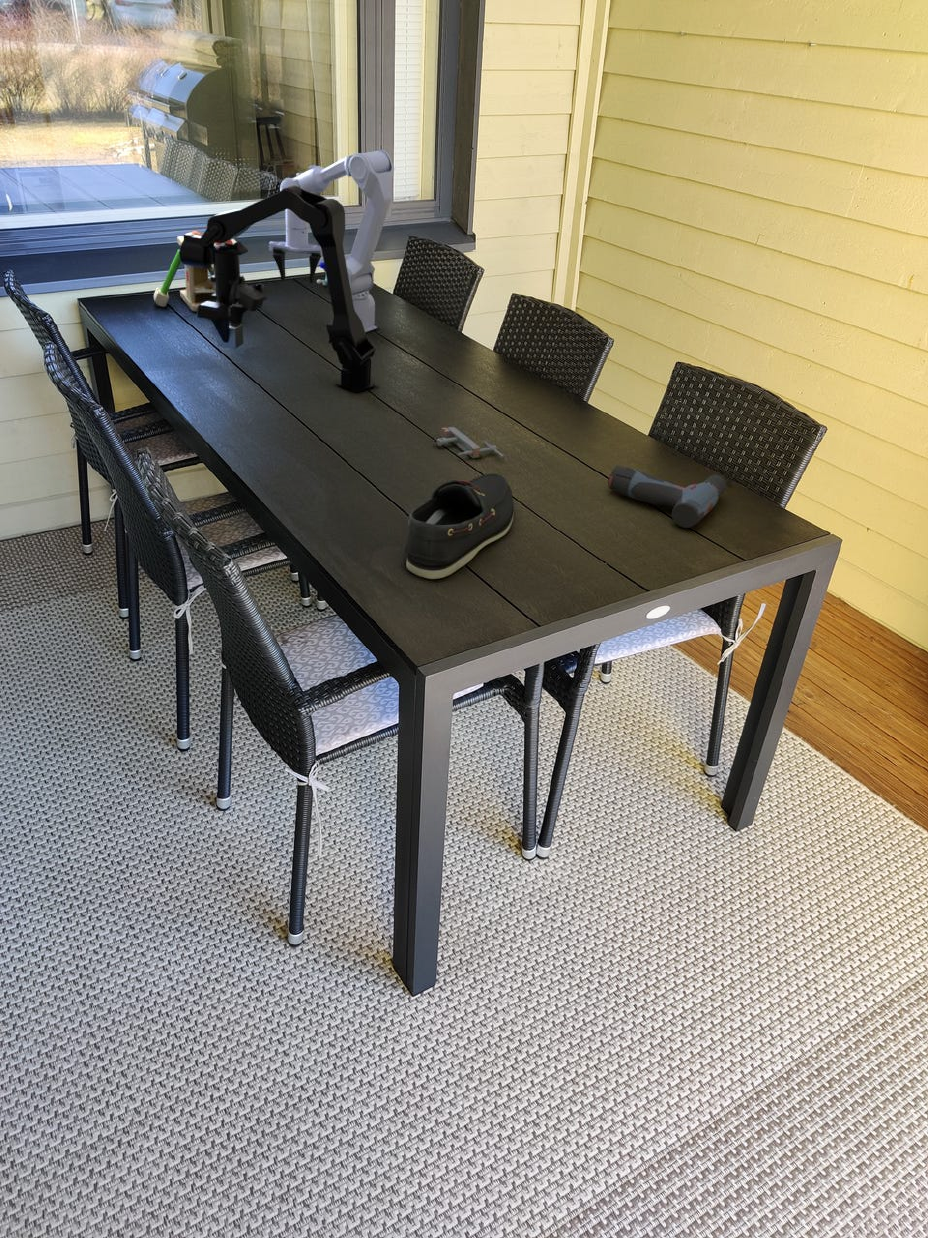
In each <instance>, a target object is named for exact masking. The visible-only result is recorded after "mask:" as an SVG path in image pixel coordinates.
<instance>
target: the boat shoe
mask: <svg viewBox="0 0 928 1238" xmlns="http://www.w3.org/2000/svg"><path fill="white" fill-rule="evenodd" d="M514 513H515V503H514V497H513V491H512V488H511V486H510V484H509V482H508V480H507V479H506V478H505V477H504V476H503V475H501V474H500V473H495V472H494V473H490V472H489V473H485V474H481V475H479V476H477V477H474V478H472V479H470V480H468V481H467V480H463V479H451V480H448V481H446V482H444V483H442V484H440V485H439V486H437V487H436V488H435V489H434V491H433V492H432V494H431V495H430V497H429V499H427V500H425V501H423V502H422V503H421V504H419V505H417V506H416V507H414V508H413V509H412V510H411V511H410V512H409V515H407V518H406V523H407V524H408V533H407V537H406V544H405V546H404V548H403V549H404V553H406V554H407V555H406V561H405V562H406V564H405V565H406V569H407V570H408V571H409V572H410V573H412V574H414V575H416V576H417V577H421V578H424V579H430V580H436V579H442V578H445V577H448V576H450V575H452V574H453V573H455V572H456V571H458V570H459V569H460V568H462V567H464V566H465V565H467V563H469V562H470V561H472V559H474V557H475V556H476V555H477V554H478V553H479V551H480V550H482V549H483V548H485V546H487V545H489V544H491V543H492V542H493V543H494V541H497V540H499V539H500V538H502V537H504V536H505V535H506V534H507V533H508V532H509V530H510V529H511V527H512V525H513V521H514V515H515V514H514Z"/></svg>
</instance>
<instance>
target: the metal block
mask: <svg viewBox="0 0 928 1238" xmlns="http://www.w3.org/2000/svg"><path fill="white" fill-rule="evenodd" d="M243 325H244V324H243V323H242V322H241V323H235V322H230V323H229V340H228V343H225V342H223V340H222V339H221V337H220V335H219V333H218V331H217V330H216V333H217V334H216V335H217V346H218V347H223V348H228V349H234V350H236V349H238V348H239V347H241V346H243V345H244V327H243Z"/></svg>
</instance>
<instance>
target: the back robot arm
mask: <svg viewBox="0 0 928 1238" xmlns="http://www.w3.org/2000/svg"><path fill="white" fill-rule="evenodd" d="M394 171H395V166H394V163H393V161H392V159H391V156H390V155H389V153H388V152H387V151H386V150H383V149H377V150H375V151H369V152H356V153H354V154H351V155H346V156H345V157H342V158H341V159H339V160H338V161H336V162H334V163H332V164H330V165H328V166H327V167H325V168H324V167H323V166H321V165H316V164H313V165H310V166H308V170H306V171H304V172H301V171H300V172H297V173H296V176H295V177H285V178H284V179H283V180H282V182H281V183H280V186H279V192H280V191H281V190H282V189H284V188H287V187H290V186H298V187H300V188H302V189H304V190H305V191H308V192H311V193H314V194H317V195H319V194H321V193H322V192H325V191H327V190H328V189H329V188H330V186H331V182H334V181H335V180H339V179H341V178H343V177H346V176H347V177H351V178H352V179H353V181H354V182H355V183H356V185H357V186H358V188H359V189H360V191H361V192H362V194H364V196H366V202H365V206H364V209H363V212H362V215H361V219H360V221H359V225H358V228H357V232H356V235H355V239H354V242H353V245H352V248H351V251H350V254H349V257H347V259H345V260H346V266H347V271H348V277H349V283H350V288H351V294H352V300H353V306H354V310H355V312H356V313H357V315H358V316H359V318H360V319H361V321H362V324H363V327H364V330H365V333H367V332H370V331H374V330H377V329H378V326H377V325H375V321H376V301H375V299H374V297H373V295H372V294H371V293H370V290H372V288H373V286H374V283H375V278H374V276H375V275H374V274H375V270H376V268H375V266H374V265H373V264H372V261H373V258H374V254H375V252H376V249H377V245H378V242H379V239H380V236H381V233H382V230H383V227H384V224H385V222H386V221H385V220H386V218H387V215H388V212H389V209H390V205H391V203H392V199H393V191H392V188H393V187H392V186H393V185H392V178H393V175H394ZM284 211H285V241H272V240H271V241H269V243H268V251H270V252H272V257H273V260H274V261H275V264H276V266H277V268H278V272H279V275H280V280H281V281H285V280H286V253H297V254H305V255H309V257H308V259H309V260H308V261H309V283H310V284H313V283H314V282H315V276H316V271H317V268H318V267H317V265H319V264H320V260H321V258H322V257H323V255H322V250H321V247H320V245H316V244H313V243H312V244H311V243H309V223H307V222H305V221H303V220H302V219H300V218H299V217H298V216H297V215H295V214H294V213H293V212H292V211H291V210H289V209H286V210H284Z"/></svg>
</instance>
